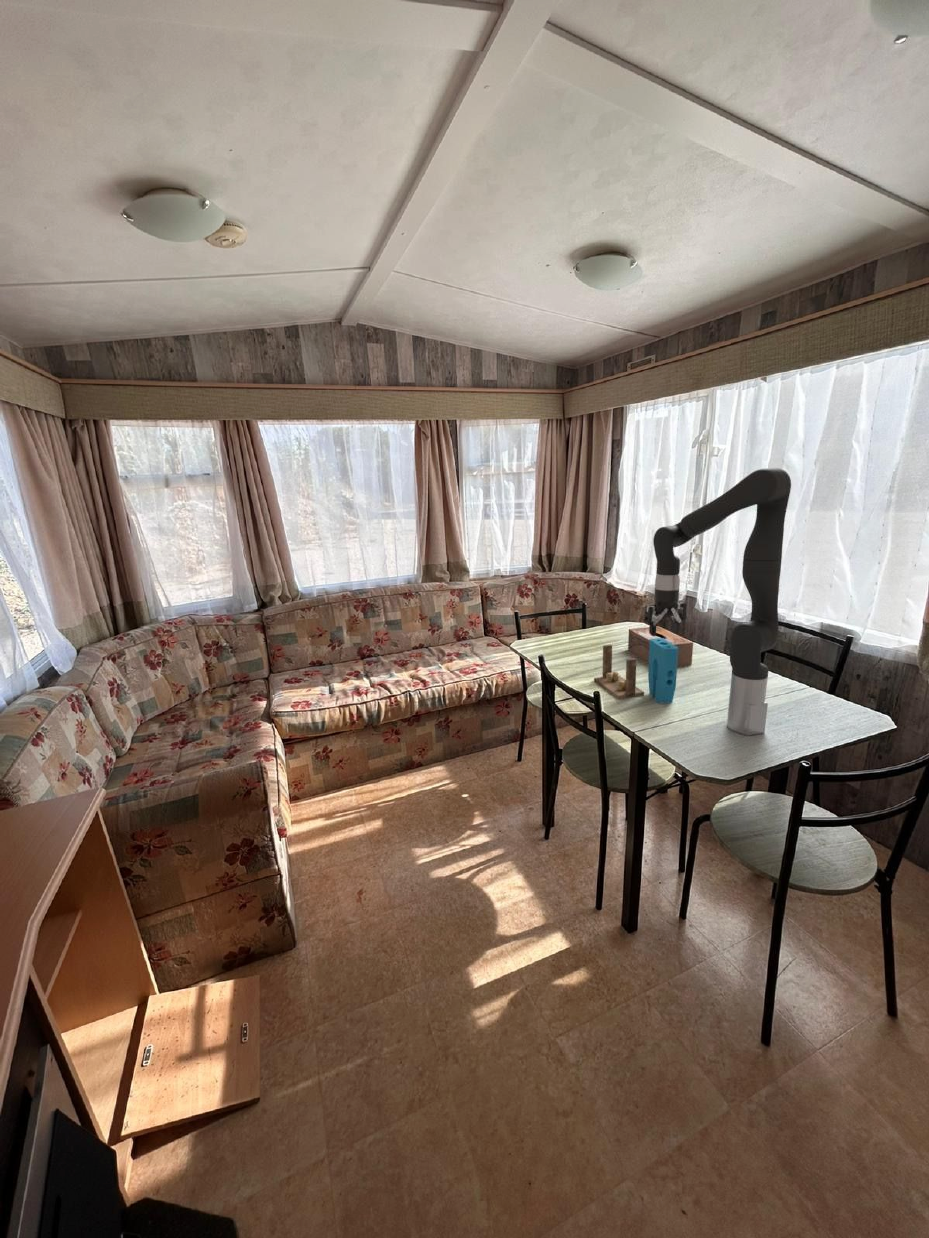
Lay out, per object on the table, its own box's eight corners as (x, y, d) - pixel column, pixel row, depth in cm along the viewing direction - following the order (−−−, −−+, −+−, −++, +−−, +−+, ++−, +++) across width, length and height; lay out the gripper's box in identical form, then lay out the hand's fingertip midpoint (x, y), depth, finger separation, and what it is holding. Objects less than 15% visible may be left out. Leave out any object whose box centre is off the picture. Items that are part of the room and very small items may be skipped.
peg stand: (617, 677, 192) (618, 643, 189) (643, 695, 175) (645, 657, 172) (594, 680, 190) (594, 646, 187) (618, 699, 173) (619, 661, 170)
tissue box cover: (628, 650, 224) (628, 629, 221) (657, 647, 226) (658, 626, 223) (658, 669, 199) (660, 646, 196) (691, 665, 201) (693, 642, 198)
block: (675, 704, 167) (679, 648, 162) (661, 705, 166) (664, 649, 161) (659, 690, 178) (662, 637, 173) (646, 691, 178) (648, 638, 173)
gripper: (654, 591, 157) (652, 639, 161) (693, 587, 160) (690, 634, 164) (641, 587, 164) (639, 633, 168) (678, 583, 167) (675, 629, 171)
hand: (664, 634), depth 166 cm, fingers open, 8 cm apart
